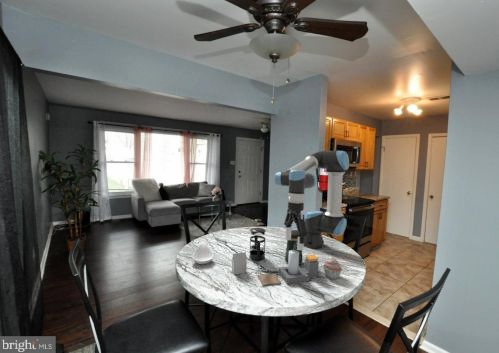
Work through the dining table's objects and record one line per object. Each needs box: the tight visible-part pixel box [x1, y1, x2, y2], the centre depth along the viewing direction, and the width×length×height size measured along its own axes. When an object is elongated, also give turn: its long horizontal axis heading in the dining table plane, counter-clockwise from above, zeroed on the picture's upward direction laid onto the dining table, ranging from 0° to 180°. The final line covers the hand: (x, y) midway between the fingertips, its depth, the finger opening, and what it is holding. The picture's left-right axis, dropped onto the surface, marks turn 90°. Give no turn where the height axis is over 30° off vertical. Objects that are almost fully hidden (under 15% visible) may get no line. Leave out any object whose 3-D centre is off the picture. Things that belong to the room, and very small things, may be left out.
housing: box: [278, 257, 320, 285], centre depth 116 cm, size 18×11×8 cm, turn 104°
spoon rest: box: [191, 241, 215, 265], centre depth 135 cm, size 24×12×7 cm, turn 14°
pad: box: [257, 273, 282, 287], centre depth 112 cm, size 9×9×1 cm
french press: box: [249, 218, 266, 262], centre depth 137 cm, size 12×9×23 cm
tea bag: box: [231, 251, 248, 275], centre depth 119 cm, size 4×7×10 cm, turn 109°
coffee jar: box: [284, 229, 303, 265], centre depth 132 cm, size 10×8×19 cm
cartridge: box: [287, 250, 300, 275], centre depth 115 cm, size 5×5×13 cm
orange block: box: [304, 254, 319, 262], centre depth 117 cm, size 5×5×6 cm
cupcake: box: [322, 256, 343, 280], centre depth 117 cm, size 9×9×10 cm
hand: (293, 244), depth 114 cm, fingers open, 13 cm apart
